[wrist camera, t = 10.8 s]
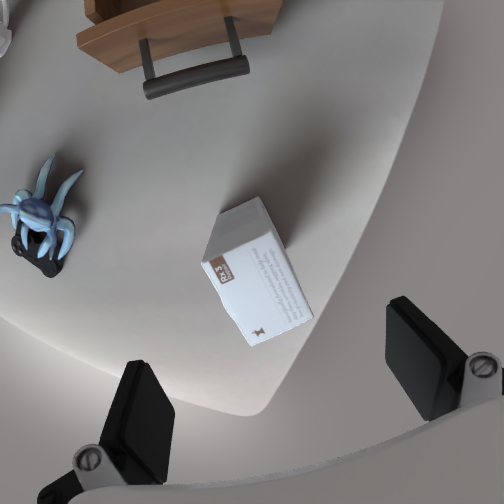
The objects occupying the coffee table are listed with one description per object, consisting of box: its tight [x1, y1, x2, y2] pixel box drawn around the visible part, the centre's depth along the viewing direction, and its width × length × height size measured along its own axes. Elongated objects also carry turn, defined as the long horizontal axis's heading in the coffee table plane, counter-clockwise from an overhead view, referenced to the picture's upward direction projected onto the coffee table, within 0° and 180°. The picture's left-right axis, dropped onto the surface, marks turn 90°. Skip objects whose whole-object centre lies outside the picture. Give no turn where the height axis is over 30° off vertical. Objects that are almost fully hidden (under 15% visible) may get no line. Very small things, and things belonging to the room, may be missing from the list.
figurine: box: [0, 153, 84, 278], centre depth 22 cm, size 10×12×8 cm
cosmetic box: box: [201, 196, 314, 346], centre depth 22 cm, size 6×4×12 cm
